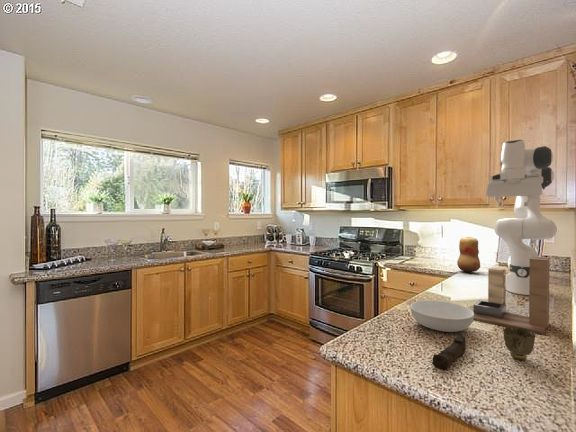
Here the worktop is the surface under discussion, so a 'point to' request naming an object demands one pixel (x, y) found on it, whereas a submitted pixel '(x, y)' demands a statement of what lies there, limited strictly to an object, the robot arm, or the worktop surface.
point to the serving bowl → (442, 315)
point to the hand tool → (450, 353)
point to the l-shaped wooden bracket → (537, 303)
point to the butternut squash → (468, 255)
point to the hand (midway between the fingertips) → (513, 206)
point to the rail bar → (497, 285)
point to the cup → (519, 342)
